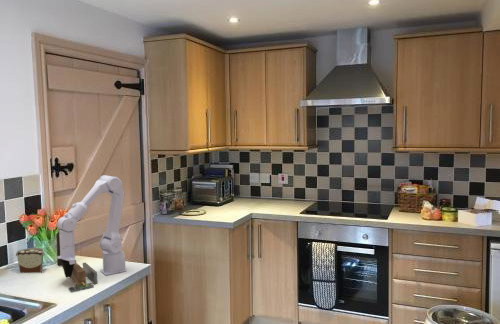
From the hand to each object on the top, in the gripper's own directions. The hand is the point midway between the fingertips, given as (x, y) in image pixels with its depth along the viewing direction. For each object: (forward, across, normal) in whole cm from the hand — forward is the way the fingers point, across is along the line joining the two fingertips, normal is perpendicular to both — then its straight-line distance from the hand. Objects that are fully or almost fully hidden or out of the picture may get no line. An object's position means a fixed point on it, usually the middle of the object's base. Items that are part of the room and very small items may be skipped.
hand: (68, 276), depth 180 cm
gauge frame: (+3, +2, +4) cm, 5 cm away
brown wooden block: (+3, +2, +4) cm, 5 cm away
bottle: (+3, -27, +6) cm, 28 cm away
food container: (+3, -26, -8) cm, 28 cm away
